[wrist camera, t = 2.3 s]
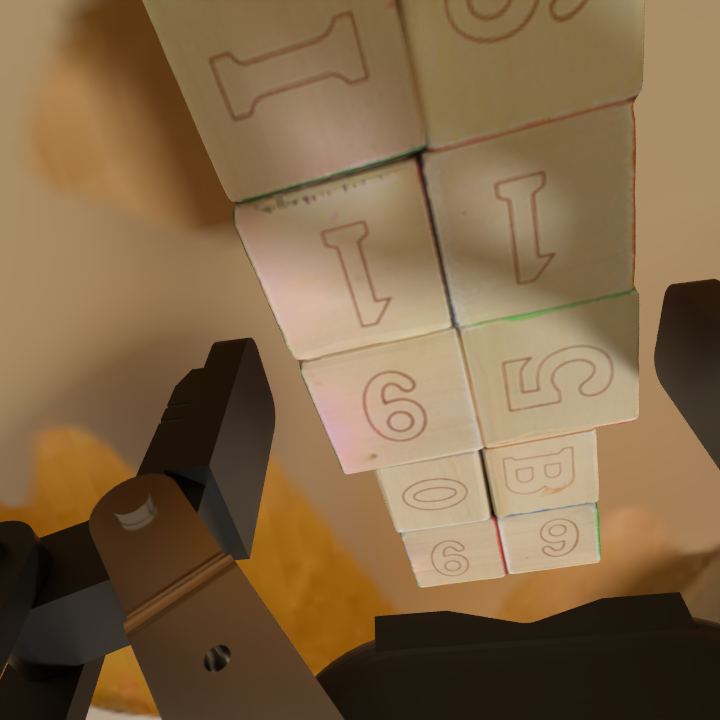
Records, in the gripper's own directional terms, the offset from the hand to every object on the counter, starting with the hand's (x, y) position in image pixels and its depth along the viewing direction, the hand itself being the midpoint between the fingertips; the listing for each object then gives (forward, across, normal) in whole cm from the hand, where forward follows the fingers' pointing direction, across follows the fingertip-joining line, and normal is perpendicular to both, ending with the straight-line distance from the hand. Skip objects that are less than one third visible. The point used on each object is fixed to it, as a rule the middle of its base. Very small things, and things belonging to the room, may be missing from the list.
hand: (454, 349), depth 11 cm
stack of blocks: (+11, 0, 0) cm, 11 cm away
